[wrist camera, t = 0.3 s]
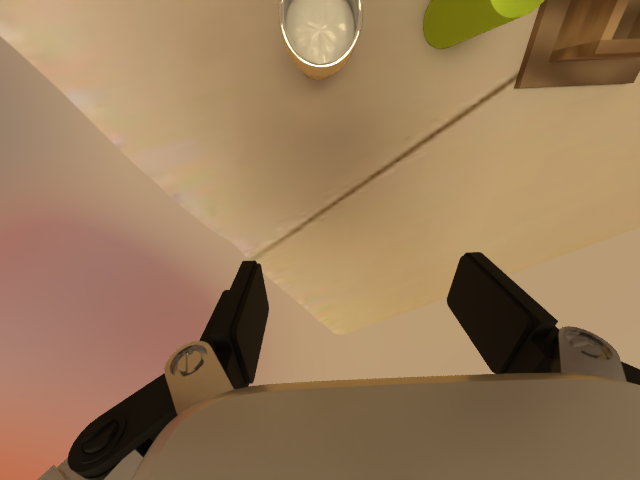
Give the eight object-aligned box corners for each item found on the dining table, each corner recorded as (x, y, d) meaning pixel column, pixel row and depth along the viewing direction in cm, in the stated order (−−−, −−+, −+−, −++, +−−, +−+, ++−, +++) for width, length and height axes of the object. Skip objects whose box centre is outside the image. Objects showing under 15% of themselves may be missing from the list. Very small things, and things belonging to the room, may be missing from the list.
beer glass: (295, 11, 29) (280, -63, 16) (349, 24, 30) (377, -36, 17) (289, 78, 33) (272, 61, 20) (338, 88, 33) (353, 79, 20)
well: (569, -86, 26) (647, -144, 20) (714, -92, 26) (837, -152, 20) (514, 88, 34) (557, 84, 28) (625, 83, 34) (693, 79, 28)
